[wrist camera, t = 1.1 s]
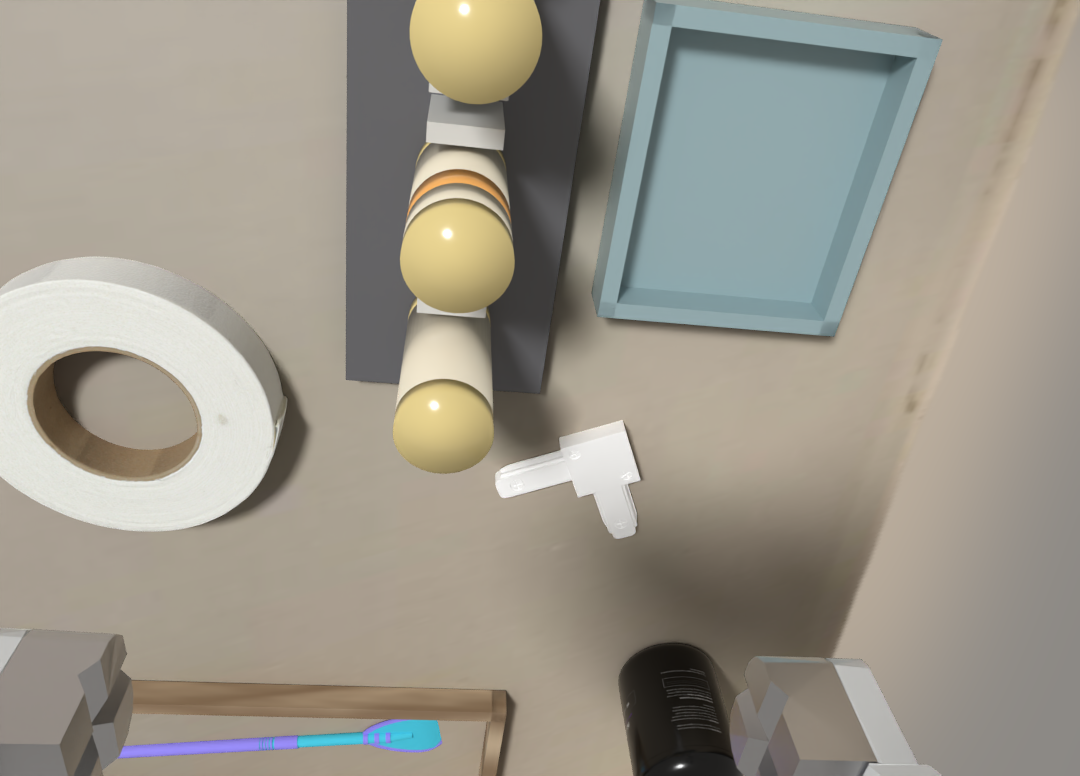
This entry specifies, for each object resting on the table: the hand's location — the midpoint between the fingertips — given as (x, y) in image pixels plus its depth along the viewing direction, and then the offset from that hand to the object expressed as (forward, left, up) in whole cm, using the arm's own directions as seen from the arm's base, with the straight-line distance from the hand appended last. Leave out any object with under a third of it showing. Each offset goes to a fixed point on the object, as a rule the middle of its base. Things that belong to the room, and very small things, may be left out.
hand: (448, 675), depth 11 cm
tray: (+2, +13, -31) cm, 33 cm away
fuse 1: (-4, 0, -30) cm, 30 cm away
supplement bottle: (+38, +17, -31) cm, 52 cm away
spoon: (+47, -10, -31) cm, 58 cm away
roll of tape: (+17, -16, -31) cm, 39 cm away
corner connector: (+22, +8, -32) cm, 39 cm away
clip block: (+3, 0, -31) cm, 31 cm away
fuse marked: (+3, 0, -30) cm, 30 cm away
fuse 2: (+11, 0, -30) cm, 31 cm away
